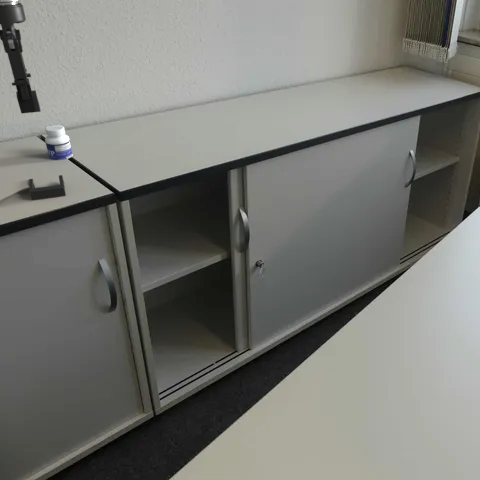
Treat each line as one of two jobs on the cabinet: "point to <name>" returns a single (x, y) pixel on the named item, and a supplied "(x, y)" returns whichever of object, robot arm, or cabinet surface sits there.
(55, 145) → the pill bottle
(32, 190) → the dark grey u-shaped piece
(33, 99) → the pad block
